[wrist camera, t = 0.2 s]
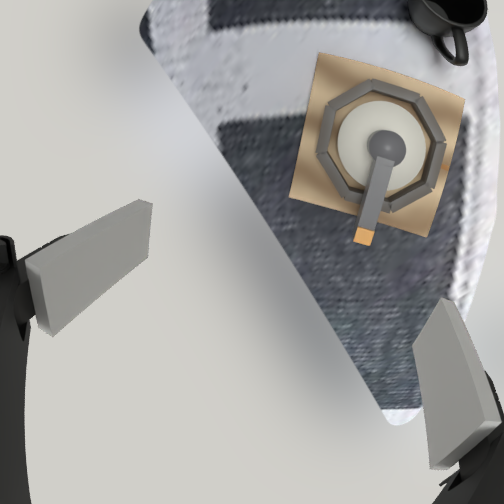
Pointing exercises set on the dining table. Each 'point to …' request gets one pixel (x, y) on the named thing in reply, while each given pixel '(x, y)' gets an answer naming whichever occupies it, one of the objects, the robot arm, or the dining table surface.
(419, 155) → the dial
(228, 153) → the dining table surface
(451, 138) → the dial board
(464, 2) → the mug
